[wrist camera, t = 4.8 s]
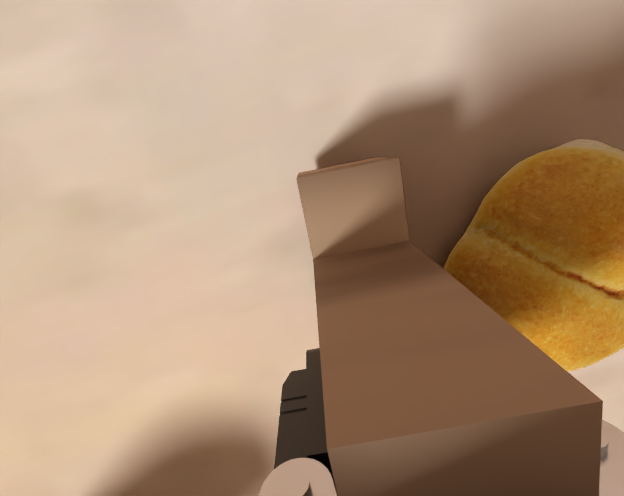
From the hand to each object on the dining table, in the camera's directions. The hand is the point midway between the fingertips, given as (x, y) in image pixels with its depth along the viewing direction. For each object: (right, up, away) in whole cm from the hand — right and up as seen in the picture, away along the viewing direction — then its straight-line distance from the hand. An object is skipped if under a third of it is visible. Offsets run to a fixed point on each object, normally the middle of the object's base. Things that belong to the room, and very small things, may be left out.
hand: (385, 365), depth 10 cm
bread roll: (+8, +3, +5) cm, 10 cm away
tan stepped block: (0, +1, +4) cm, 5 cm away
